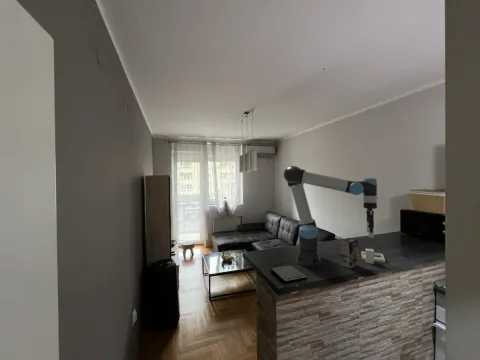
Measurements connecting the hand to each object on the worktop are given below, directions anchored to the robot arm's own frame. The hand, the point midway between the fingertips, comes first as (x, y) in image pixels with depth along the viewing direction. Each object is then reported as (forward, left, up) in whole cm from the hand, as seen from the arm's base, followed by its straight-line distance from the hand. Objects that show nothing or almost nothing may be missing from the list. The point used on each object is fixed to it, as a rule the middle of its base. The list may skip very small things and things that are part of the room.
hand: (370, 234), depth 144 cm
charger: (0, 0, -18) cm, 18 cm away
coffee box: (-12, -11, -18) cm, 25 cm away
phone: (-9, +12, -19) cm, 24 cm away
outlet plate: (+2, +9, -18) cm, 20 cm away
